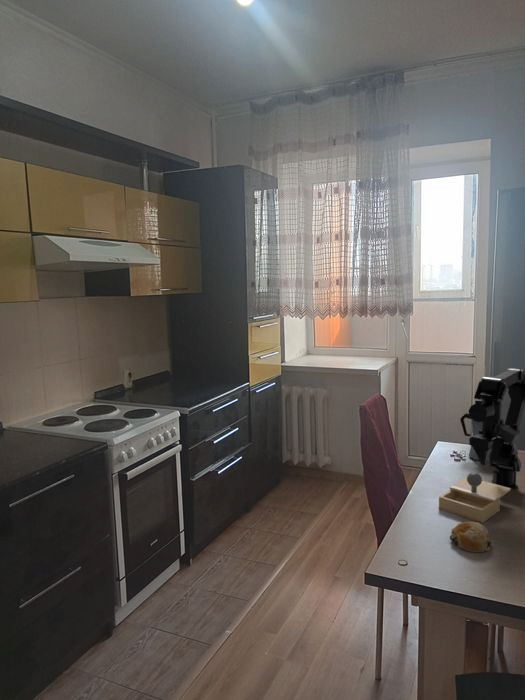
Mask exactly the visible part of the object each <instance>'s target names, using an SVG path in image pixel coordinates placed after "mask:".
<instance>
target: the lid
mask: <svg viewBox="0 0 525 700" xmlns="http://www.w3.org/2000/svg"><path fill="white" fill-rule="evenodd" d="M449 490H455V491H458V492H462V493H465V494H468V495H472V496H475V497H479V498H482V499H485V500H489V501H492V502H495V501H497V500H498V499H499V498H500V499H501V498H502V497H504V496H505V495H506V494H508V493H509V492H510V491H511V490H512V488H508V487H504V486H500V485H496V484H494V483H493V482H488V481H485V480H483V478H482V475H480V474H479V472H470V473H468V475H466V477H465V478H463V479H461V480H459V481H458V482H456V483H454V484H453V485H451V486H449Z"/></svg>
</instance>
